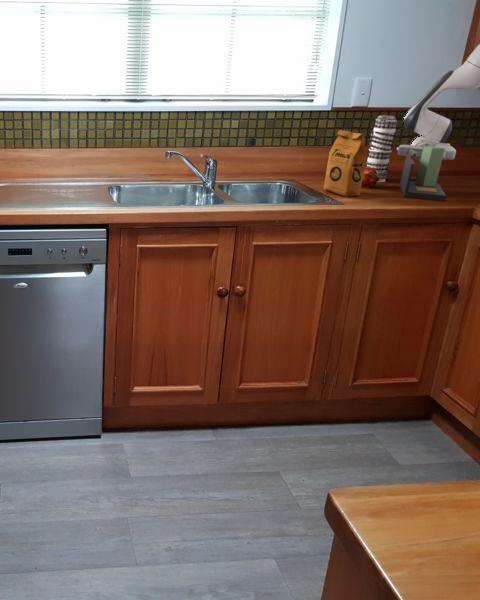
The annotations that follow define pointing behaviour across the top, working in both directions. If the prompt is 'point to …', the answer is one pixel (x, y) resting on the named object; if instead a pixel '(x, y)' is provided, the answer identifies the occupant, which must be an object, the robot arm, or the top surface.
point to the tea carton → (429, 165)
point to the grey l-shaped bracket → (417, 190)
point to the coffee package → (346, 164)
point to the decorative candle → (381, 145)
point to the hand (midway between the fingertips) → (427, 155)
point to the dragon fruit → (369, 177)
